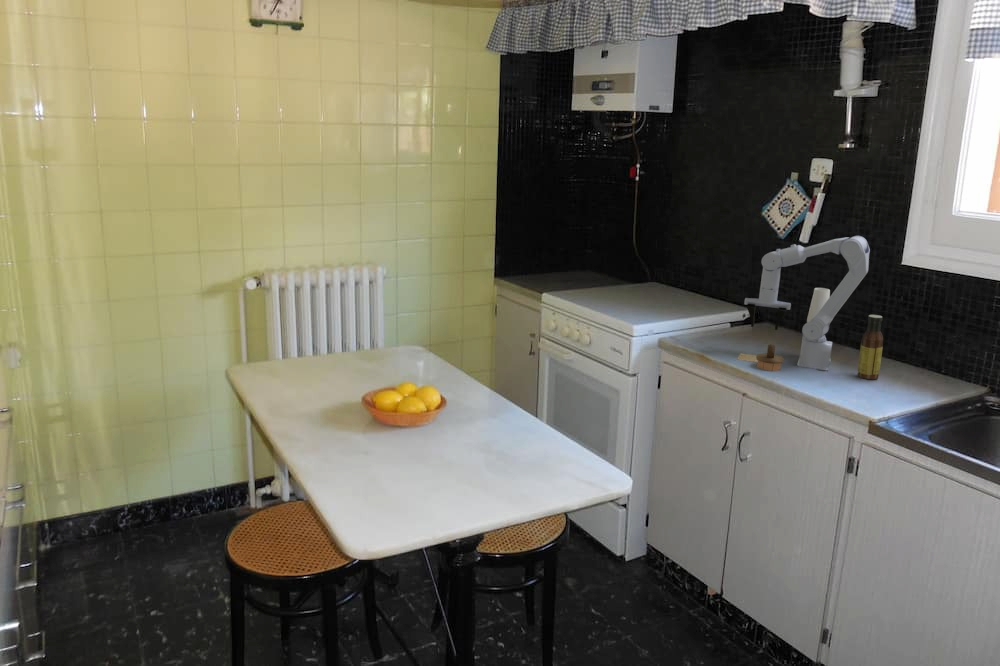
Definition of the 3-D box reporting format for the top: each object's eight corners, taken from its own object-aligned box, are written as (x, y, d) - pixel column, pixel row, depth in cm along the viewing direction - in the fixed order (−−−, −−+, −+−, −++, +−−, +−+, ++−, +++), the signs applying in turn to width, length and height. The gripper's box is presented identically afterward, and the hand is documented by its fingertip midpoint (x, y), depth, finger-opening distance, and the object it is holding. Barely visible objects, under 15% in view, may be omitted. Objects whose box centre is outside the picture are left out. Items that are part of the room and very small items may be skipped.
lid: (781, 357, 258) (783, 342, 257) (785, 364, 250) (787, 350, 249) (754, 355, 260) (756, 340, 258) (758, 362, 252) (760, 347, 250)
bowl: (781, 367, 257) (782, 358, 257) (779, 373, 251) (780, 364, 250) (758, 364, 260) (759, 355, 259) (756, 370, 254) (757, 361, 253)
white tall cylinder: (827, 361, 266) (837, 291, 260) (810, 362, 264) (820, 291, 258) (813, 355, 272) (823, 286, 266) (797, 356, 270) (806, 287, 264)
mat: (767, 358, 267) (768, 357, 267) (765, 364, 260) (765, 363, 260) (740, 354, 270) (740, 353, 270) (736, 360, 263) (737, 359, 263)
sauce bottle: (874, 374, 253) (884, 314, 248) (881, 380, 247) (891, 319, 242) (853, 373, 254) (862, 312, 249) (859, 379, 248) (869, 317, 243)
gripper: (793, 288, 264) (788, 328, 268) (748, 283, 270) (743, 322, 273) (791, 292, 258) (786, 332, 261) (745, 287, 264) (740, 326, 267)
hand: (764, 327), depth 267 cm, fingers open, 7 cm apart
